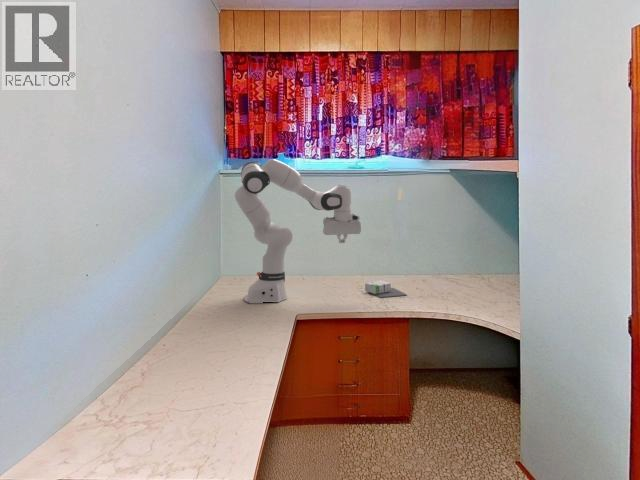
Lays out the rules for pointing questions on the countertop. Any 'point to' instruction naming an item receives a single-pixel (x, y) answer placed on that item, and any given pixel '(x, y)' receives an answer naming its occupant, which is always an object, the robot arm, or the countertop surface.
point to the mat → (391, 293)
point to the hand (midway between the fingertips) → (341, 242)
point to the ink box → (377, 287)
